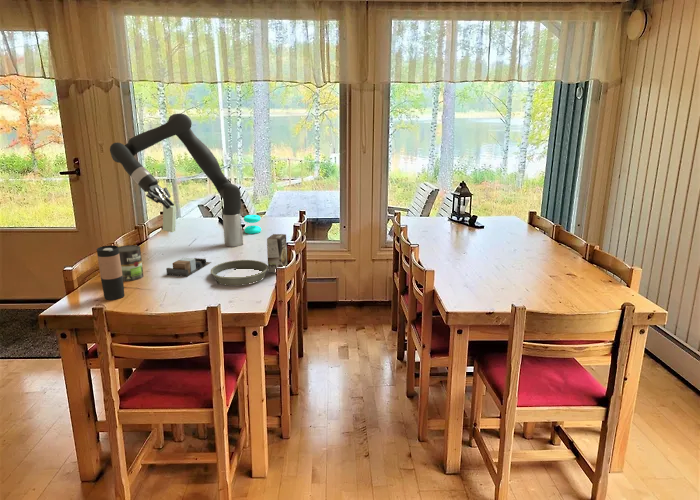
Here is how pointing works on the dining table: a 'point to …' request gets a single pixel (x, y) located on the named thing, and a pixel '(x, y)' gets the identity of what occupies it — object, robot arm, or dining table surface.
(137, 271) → the coffee can
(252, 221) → the donuts
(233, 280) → the cake pan
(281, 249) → the coffee box
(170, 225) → the pale green block
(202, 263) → the rack
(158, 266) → the dining table surface
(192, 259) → the offcut
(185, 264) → the offcut
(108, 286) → the travel mug
